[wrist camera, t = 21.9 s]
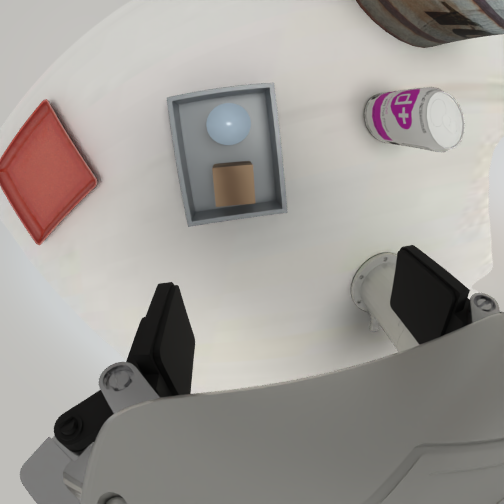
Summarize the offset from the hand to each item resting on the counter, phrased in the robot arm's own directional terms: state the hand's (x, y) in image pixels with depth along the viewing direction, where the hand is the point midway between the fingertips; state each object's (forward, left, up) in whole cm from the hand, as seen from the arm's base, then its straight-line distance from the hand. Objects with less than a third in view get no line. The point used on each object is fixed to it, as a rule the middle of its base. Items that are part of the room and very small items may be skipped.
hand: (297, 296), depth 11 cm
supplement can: (+8, -23, -31) cm, 39 cm away
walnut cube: (0, +2, -30) cm, 30 cm away
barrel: (+34, -32, -31) cm, 56 cm away
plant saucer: (+8, +33, -31) cm, 46 cm away
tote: (+4, +2, -30) cm, 31 cm away
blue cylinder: (+8, +2, -30) cm, 31 cm away
